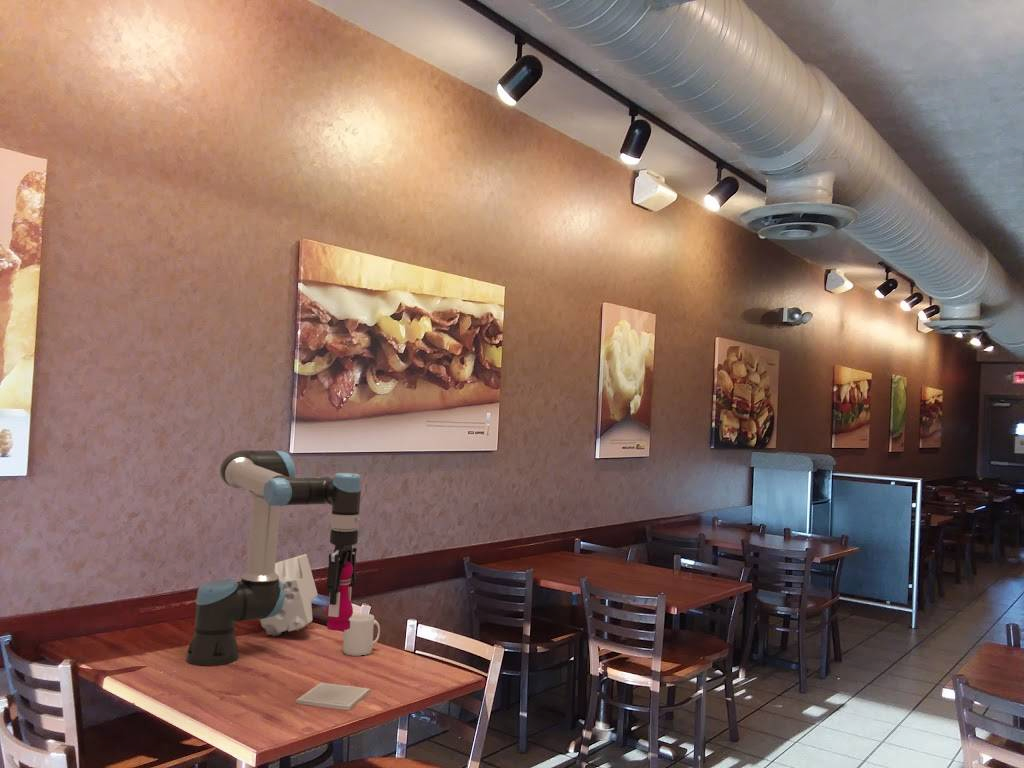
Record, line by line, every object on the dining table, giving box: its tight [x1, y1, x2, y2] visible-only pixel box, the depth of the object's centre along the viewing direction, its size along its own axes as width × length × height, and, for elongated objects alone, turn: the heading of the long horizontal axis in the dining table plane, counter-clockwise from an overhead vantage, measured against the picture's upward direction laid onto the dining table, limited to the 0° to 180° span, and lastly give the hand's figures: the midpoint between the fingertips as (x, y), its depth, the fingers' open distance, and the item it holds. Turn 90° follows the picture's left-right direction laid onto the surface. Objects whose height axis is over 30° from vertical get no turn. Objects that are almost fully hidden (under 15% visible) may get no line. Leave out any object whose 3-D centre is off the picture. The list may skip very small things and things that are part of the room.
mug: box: [342, 612, 381, 657], centre depth 264 cm, size 10×12×12 cm
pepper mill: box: [325, 561, 354, 632], centre depth 221 cm, size 7×7×20 cm
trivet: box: [295, 682, 371, 711], centre depth 220 cm, size 15×15×1 cm
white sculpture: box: [259, 553, 319, 637], centre depth 283 cm, size 20×16×25 cm
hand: (339, 612), depth 221 cm, fingers closed on pepper mill, 7 cm apart
